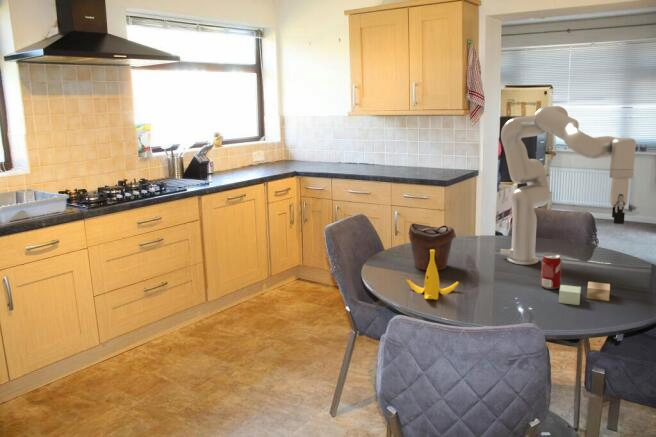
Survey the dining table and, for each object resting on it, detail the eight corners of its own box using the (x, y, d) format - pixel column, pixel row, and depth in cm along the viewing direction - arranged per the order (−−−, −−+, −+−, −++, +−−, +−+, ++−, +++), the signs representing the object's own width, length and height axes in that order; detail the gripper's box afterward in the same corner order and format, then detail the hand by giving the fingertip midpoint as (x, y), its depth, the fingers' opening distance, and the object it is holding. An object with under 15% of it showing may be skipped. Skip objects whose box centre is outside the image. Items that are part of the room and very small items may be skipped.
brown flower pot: (464, 268, 239) (465, 225, 235) (421, 275, 232) (421, 231, 228) (440, 257, 255) (440, 217, 252) (400, 264, 248) (399, 223, 245)
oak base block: (586, 298, 205) (587, 287, 204) (587, 292, 211) (588, 281, 210) (608, 301, 202) (609, 290, 201) (609, 294, 208) (610, 284, 207)
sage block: (558, 303, 201) (559, 290, 200) (559, 296, 207) (560, 284, 206) (579, 305, 198) (580, 293, 197) (579, 299, 204) (580, 286, 203)
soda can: (550, 291, 212) (552, 259, 209) (536, 286, 218) (538, 254, 215) (564, 288, 215) (566, 256, 212) (549, 282, 221) (551, 252, 218)
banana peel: (429, 305, 202) (429, 258, 198) (405, 288, 220) (405, 244, 216) (471, 299, 207) (473, 253, 203) (445, 282, 225) (446, 240, 221)
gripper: (608, 169, 217) (604, 215, 221) (611, 176, 201) (607, 225, 205) (631, 170, 214) (627, 216, 218) (635, 177, 199) (631, 226, 202)
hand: (617, 220), depth 212 cm, fingers open, 9 cm apart
